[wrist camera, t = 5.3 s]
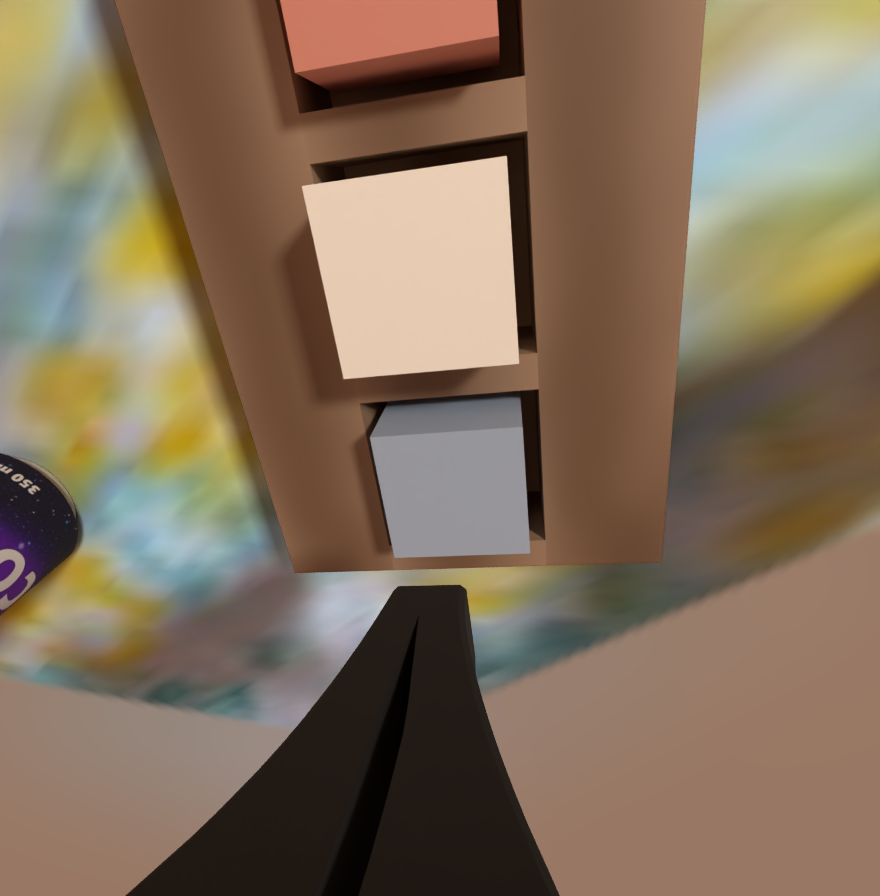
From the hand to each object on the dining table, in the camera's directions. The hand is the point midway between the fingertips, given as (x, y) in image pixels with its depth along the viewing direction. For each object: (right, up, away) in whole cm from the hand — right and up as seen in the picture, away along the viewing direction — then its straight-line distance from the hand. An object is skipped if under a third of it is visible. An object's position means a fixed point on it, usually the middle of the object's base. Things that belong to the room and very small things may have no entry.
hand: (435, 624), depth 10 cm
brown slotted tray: (0, +10, +6) cm, 11 cm away
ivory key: (0, +8, +3) cm, 9 cm away
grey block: (+1, +3, +7) cm, 7 cm away
